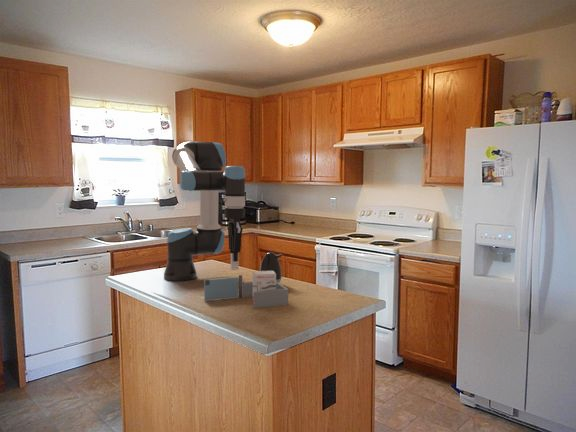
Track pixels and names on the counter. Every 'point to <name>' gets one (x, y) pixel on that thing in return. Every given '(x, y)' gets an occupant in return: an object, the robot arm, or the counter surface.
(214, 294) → the blue-grey flat plate
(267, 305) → the grey open box
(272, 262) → the pump dispenser
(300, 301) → the counter surface
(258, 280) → the ink box
